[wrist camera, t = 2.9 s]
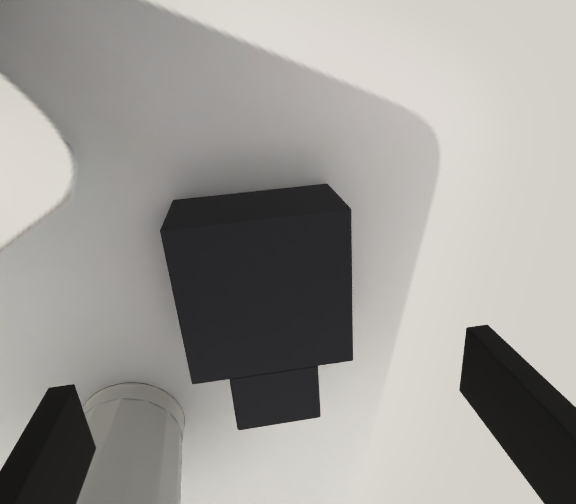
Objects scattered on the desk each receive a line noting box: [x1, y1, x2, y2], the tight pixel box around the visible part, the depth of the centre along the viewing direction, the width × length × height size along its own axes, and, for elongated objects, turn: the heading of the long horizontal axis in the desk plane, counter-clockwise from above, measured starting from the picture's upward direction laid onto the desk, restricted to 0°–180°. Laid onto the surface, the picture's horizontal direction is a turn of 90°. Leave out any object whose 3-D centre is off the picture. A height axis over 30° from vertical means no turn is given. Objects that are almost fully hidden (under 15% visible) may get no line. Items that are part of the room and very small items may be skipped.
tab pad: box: [160, 184, 353, 430], centre depth 21 cm, size 11×8×4 cm
